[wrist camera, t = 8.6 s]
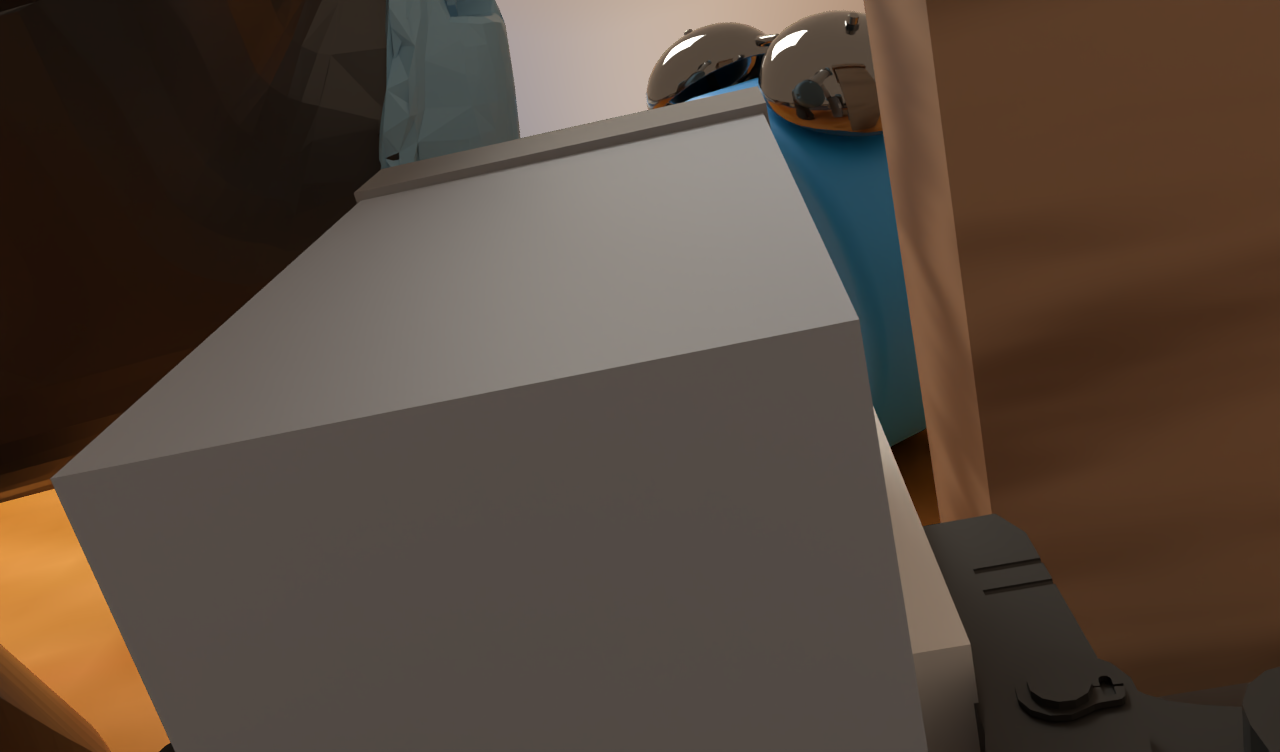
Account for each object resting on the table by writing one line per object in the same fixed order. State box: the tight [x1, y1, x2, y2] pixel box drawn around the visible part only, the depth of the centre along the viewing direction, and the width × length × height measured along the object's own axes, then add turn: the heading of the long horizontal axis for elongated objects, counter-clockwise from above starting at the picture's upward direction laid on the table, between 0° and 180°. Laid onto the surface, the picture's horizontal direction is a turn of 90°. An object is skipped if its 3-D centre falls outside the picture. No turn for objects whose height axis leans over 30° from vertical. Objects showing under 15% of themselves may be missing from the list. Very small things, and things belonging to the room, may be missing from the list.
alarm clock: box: [646, 11, 926, 447], centre depth 38 cm, size 13×6×15 cm, turn 30°
